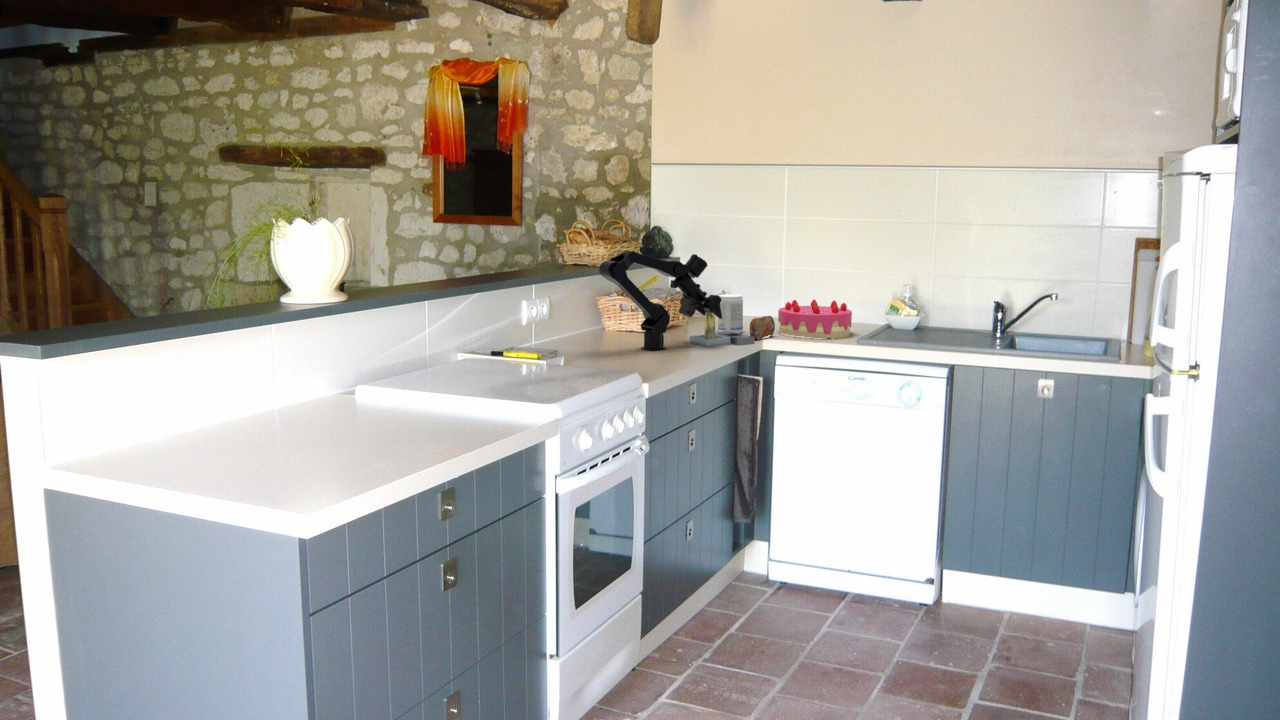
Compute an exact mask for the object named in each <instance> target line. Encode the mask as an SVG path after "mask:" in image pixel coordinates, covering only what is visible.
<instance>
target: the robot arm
mask: <svg viewBox="0 0 1280 720" xmlns="http://www.w3.org/2000/svg"><path fill="white" fill-rule="evenodd" d="M633 264H635V265H639V266H642V267H645V268H649V269H652V270H655V271H657V272H658V273H660V274H661V275H663V276H665V277H669V278H674V279H671V280H670V285H669V287H670V288H671V289H677V288H678V289H679V290H680V291H681V293H682V294H681V296H682V297H681V298H680V300H679V304H680V307H679V310H678V313H679V314H680V315H682V316H684V317H689V318H692V317H693V316H694V315H695V313H696V312H697V313H699V314H701V315H703V316H704V317H705V310H706V312H712V313H713V314H715V317H716V318H717V319H718V318H719V319H721V318H722V313H721V308H720V302H721V301H722V299H721V298H720V296H719V295H720V294H719V295H717V294H709V296H707V295H708V293H707V291H703V289H701V285H700V284H699V283H696V281H695V280H694V279H697V278H699V277H700V276H701V274H702V273H703V272H705V269H707V267H708V265H709V264H708V263H707V261H706V260H705V259H703V258H702V257H701V256H698V254H694V253H693V254H691V255H690V257H689V259H688V260H687V261H686V263H685V264H684V263H682V262H681V261H680V260H679V261H678V260H670V259H669V260H667V259H659V258H658V257H657V258H656V257H653V256H650V255H646V254H643V253H639V252H636V251H634V250H624V251H623V252H621V253H619V254H618V255H615V256H614V257H611V258H610V259H608V260H603V261H602V262H601V264H599V271H598V272H599V275H601V276H602V277H603V278H604V279H605V280H607V281H608V282H610V283H612V284H614V285H616V286H617V287H618V288H619V289H620V290H621V291H622V292H623V293H624V294H625V295H626V296H627V297H628V298H629V299H630V300H631V301H632V302H633V303H634V305H636V306H637V307H638V309H640V310H641V312H642V315H643V318H644V320H643V322H641V324H640V329H641V331H642V332H643V331H644V332H643V337H644V338H643V340H644V341H643V346H641V347H640V349H641V348H642V350H647V351H654V352H655V351H659V350H660V351H661V350H666V349H667V347H665V345H664V343H665V338H664V337H665V336H664V333H665V334H666V332H667V330H668V325H670V323H671V315H670V314H669V313H670V311H669V310H667V309H666V308H665V307H664V305H663V304H661V303H655V302H652V301H651V300H650V299H649V298H648V297H647V296H646V294H644V293H643V291H641V290H640V288H638V286H637V285H636V284H635V283H634V282H633V281H632V280H631V279H630V278H629V277H628V274H627V271H628V270H629V268H630V267H631V266H632V265H633ZM707 297H708V298H707Z"/></svg>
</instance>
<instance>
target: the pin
mask: <svg viewBox="0 0 1280 720" xmlns="http://www.w3.org/2000/svg"><path fill="white" fill-rule="evenodd" d="M706 297H707V298H708V297H709V296H706ZM715 332H716V315H715V314H713V313H712V312H706V310H705V316H704V335H705V339H715Z"/></svg>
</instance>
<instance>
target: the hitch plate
mask: <svg viewBox="0 0 1280 720" xmlns="http://www.w3.org/2000/svg"><path fill="white" fill-rule="evenodd" d="M715 334H716V335H721V336H725V337H730V338H731V340H730V345H734V346H742V345H753V344H755V342H756V341H755V337H753V336H750V335H748V334H743V333H734V332H729V331H726V332H719V331H715Z"/></svg>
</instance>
